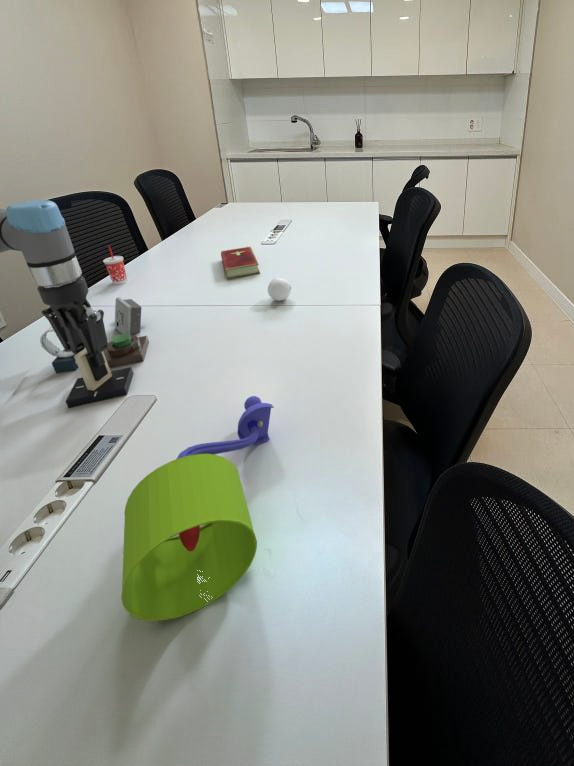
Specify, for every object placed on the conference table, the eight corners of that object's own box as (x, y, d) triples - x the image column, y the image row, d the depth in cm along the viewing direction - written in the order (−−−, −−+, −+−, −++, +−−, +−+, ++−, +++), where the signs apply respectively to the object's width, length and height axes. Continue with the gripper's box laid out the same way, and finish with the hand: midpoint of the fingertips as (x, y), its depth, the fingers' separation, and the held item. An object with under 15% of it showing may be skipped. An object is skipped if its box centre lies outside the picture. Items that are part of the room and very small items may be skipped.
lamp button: (112, 349, 96) (110, 343, 95) (115, 341, 99) (113, 335, 98) (130, 346, 97) (128, 340, 96) (133, 337, 100) (131, 332, 100)
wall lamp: (128, 382, 64) (121, 548, 40) (265, 366, 76) (323, 486, 52) (127, 453, 69) (121, 641, 45) (257, 427, 81) (307, 565, 56)
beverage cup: (109, 281, 142) (97, 245, 136) (127, 276, 145) (117, 241, 140) (112, 286, 138) (100, 250, 132) (131, 281, 141) (120, 245, 136)
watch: (84, 369, 94) (69, 331, 90) (47, 374, 93) (30, 335, 89) (95, 356, 99) (81, 319, 95) (60, 360, 98) (44, 323, 94)
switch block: (88, 372, 93) (82, 359, 92) (97, 352, 101) (93, 339, 99) (143, 361, 97) (139, 348, 95) (149, 342, 105) (145, 329, 103)
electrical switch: (114, 328, 112) (108, 298, 109) (134, 322, 116) (129, 293, 112) (126, 339, 106) (120, 309, 103) (147, 333, 110) (141, 303, 107)
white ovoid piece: (293, 302, 123) (291, 281, 120) (269, 306, 121) (266, 285, 118) (290, 289, 132) (287, 269, 129) (268, 292, 130) (265, 272, 127)
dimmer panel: (67, 410, 82) (64, 402, 81) (80, 383, 90) (77, 376, 89) (126, 397, 85) (123, 389, 84) (134, 372, 93) (131, 364, 92)
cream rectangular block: (93, 390, 84) (79, 355, 80) (87, 389, 85) (73, 355, 81) (112, 376, 89) (99, 342, 85) (106, 375, 89) (93, 341, 85)
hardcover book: (226, 279, 141) (224, 269, 139) (222, 260, 158) (220, 250, 157) (260, 273, 145) (258, 263, 143) (252, 255, 163) (250, 245, 161)
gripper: (107, 275, 78) (138, 369, 88) (48, 270, 81) (85, 362, 91) (73, 291, 71) (111, 392, 81) (11, 285, 74) (54, 383, 84)
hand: (97, 376), depth 86 cm, fingers closed on cream rectangular block, 2 cm apart
